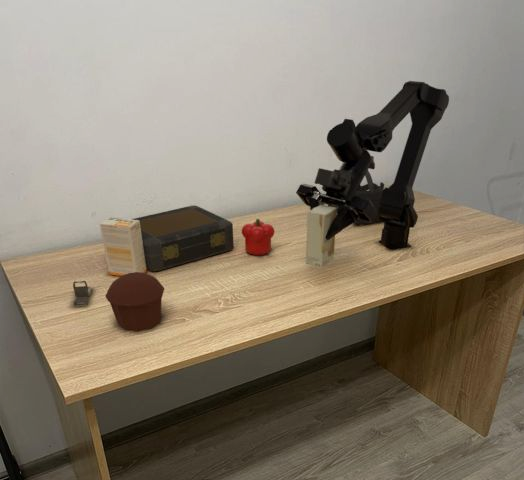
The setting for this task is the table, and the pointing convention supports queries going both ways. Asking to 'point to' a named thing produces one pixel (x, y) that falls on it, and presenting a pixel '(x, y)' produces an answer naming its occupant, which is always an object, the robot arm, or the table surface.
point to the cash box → (183, 236)
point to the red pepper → (258, 237)
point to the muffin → (136, 301)
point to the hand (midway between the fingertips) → (317, 236)
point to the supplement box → (123, 246)
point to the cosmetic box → (320, 236)
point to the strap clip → (81, 294)
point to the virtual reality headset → (370, 197)
